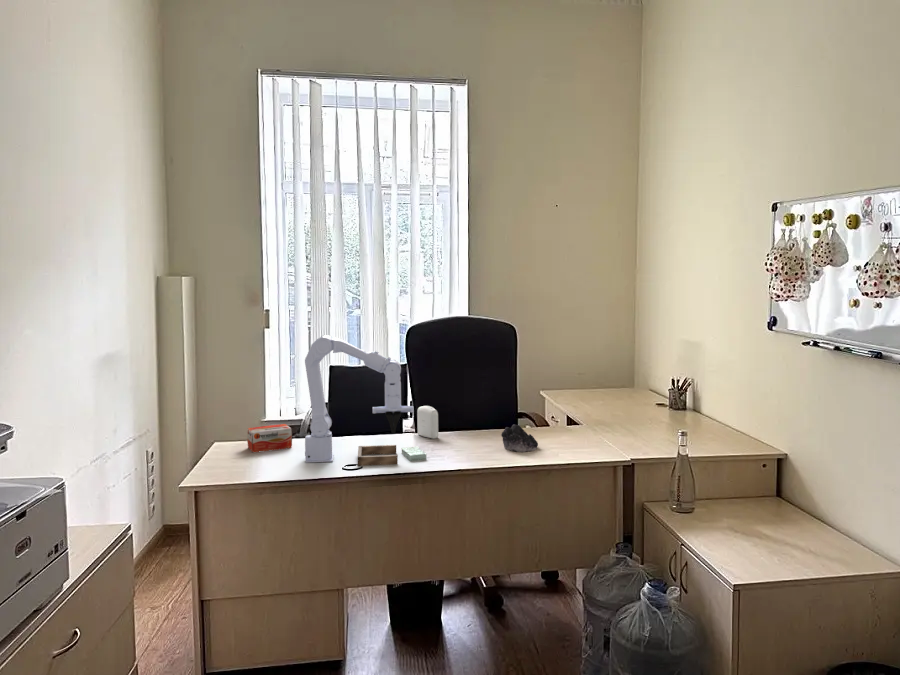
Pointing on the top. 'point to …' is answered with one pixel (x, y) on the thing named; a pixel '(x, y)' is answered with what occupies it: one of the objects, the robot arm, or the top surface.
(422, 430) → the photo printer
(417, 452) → the cover plate
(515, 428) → the crystal cluster
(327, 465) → the top surface
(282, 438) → the medicine box
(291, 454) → the top surface
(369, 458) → the walnut box
